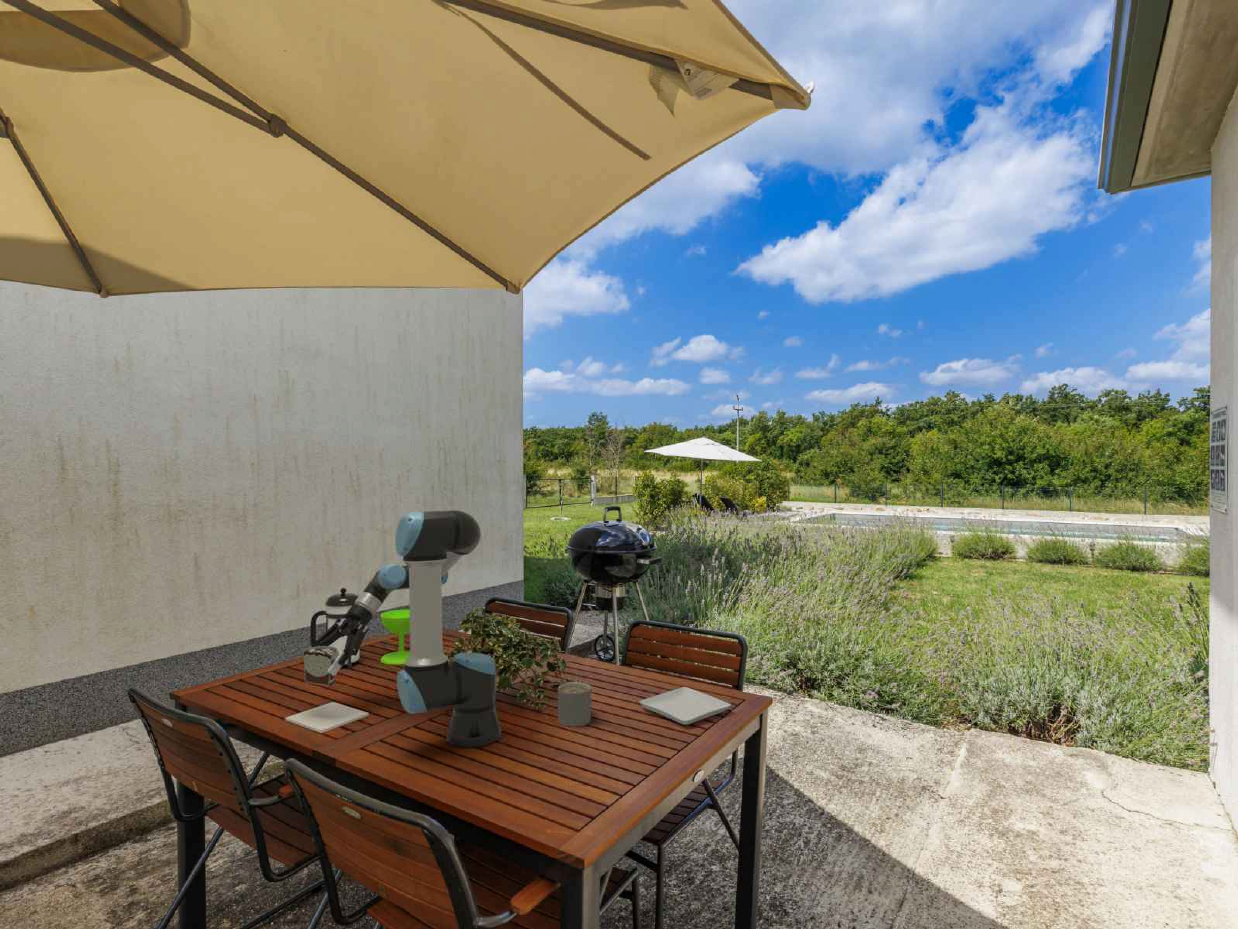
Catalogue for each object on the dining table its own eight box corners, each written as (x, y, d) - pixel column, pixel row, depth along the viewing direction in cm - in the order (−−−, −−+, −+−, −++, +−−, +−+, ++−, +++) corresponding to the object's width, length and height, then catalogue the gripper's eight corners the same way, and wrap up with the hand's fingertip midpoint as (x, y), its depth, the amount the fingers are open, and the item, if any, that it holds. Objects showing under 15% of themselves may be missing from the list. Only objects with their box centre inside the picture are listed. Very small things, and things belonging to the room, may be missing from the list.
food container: (348, 680, 201) (348, 648, 201) (332, 686, 195) (332, 653, 195) (317, 676, 205) (317, 644, 205) (301, 681, 200) (301, 649, 200)
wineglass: (378, 655, 267) (378, 611, 267) (419, 651, 273) (419, 608, 274) (382, 666, 252) (382, 620, 252) (424, 661, 259) (425, 616, 259)
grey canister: (576, 729, 192) (576, 695, 192) (551, 721, 198) (551, 688, 198) (604, 715, 202) (604, 683, 203) (579, 708, 208) (579, 677, 208)
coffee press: (355, 656, 265) (355, 582, 265) (368, 665, 253) (369, 588, 253) (309, 664, 254) (310, 587, 254) (321, 674, 242) (321, 593, 242)
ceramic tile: (368, 715, 202) (368, 713, 202) (321, 733, 188) (321, 730, 188) (333, 704, 212) (333, 701, 212) (285, 720, 198) (285, 717, 198)
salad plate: (685, 731, 191) (685, 720, 191) (637, 710, 208) (637, 700, 208) (733, 714, 205) (733, 703, 205) (684, 696, 221) (684, 686, 221)
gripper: (394, 621, 207) (351, 683, 194) (348, 611, 220) (304, 670, 206) (380, 607, 203) (335, 670, 190) (334, 598, 215) (288, 657, 202)
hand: (319, 670), depth 198 cm, fingers closed on food container, 11 cm apart
